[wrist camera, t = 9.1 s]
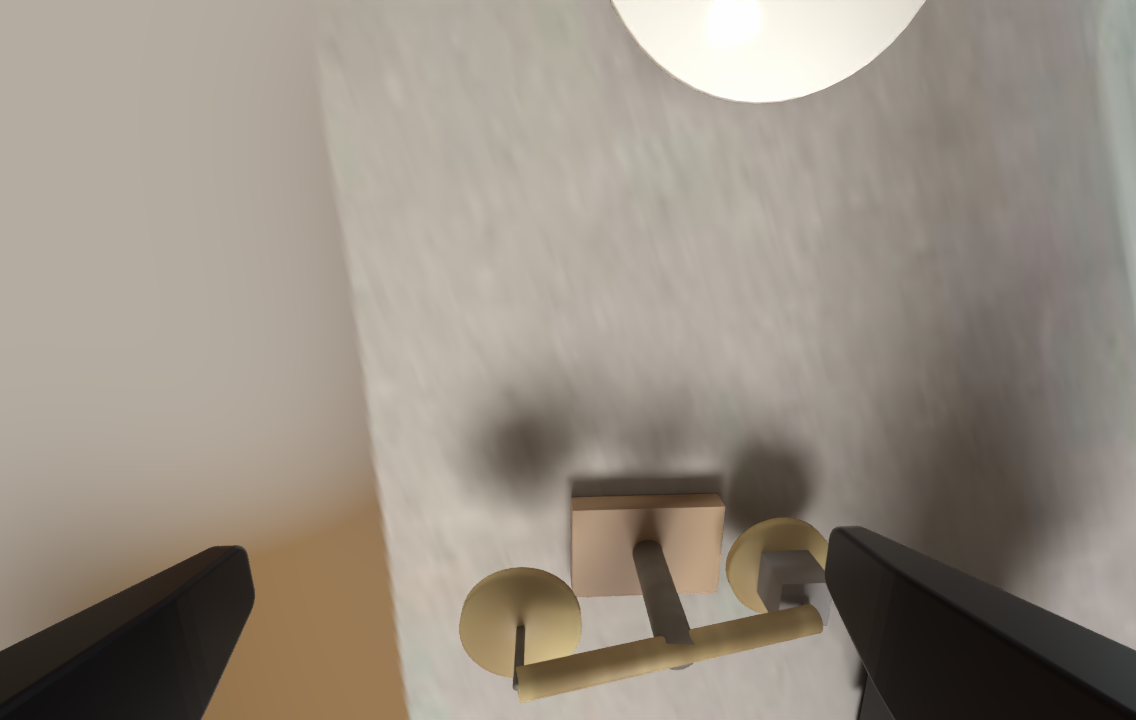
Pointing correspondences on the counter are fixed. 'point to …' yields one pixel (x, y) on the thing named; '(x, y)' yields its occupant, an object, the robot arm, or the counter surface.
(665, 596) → the balance
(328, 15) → the counter surface
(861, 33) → the dish
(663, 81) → the counter surface
